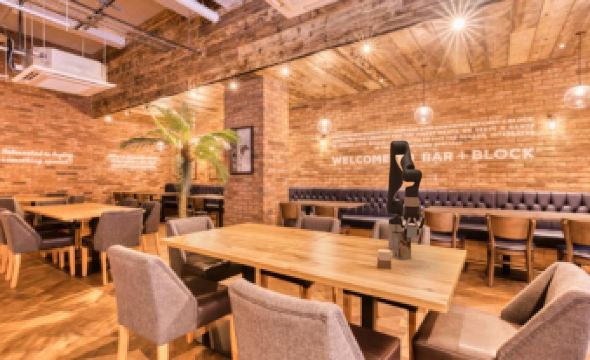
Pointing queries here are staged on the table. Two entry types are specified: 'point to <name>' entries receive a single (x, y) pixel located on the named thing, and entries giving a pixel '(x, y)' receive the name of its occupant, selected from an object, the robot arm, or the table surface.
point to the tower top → (384, 254)
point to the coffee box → (401, 245)
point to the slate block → (412, 231)
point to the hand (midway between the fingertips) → (411, 235)
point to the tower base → (384, 264)
